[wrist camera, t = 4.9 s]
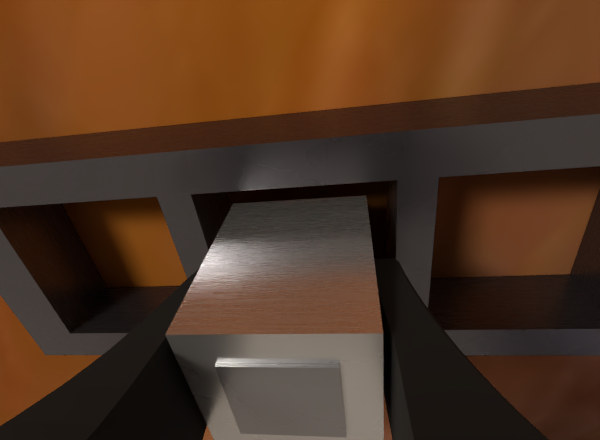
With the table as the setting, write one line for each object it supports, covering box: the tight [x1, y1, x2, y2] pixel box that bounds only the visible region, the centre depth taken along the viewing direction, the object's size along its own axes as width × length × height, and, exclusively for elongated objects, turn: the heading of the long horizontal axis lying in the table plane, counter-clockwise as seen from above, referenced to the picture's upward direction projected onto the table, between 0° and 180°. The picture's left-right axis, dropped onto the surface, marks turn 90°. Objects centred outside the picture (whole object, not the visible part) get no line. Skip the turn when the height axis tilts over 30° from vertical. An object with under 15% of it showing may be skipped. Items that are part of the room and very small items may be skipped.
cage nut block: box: [165, 195, 384, 440], centre depth 10 cm, size 4×4×5 cm
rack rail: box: [0, 83, 600, 355], centre depth 12 cm, size 22×8×2 cm, turn 97°
